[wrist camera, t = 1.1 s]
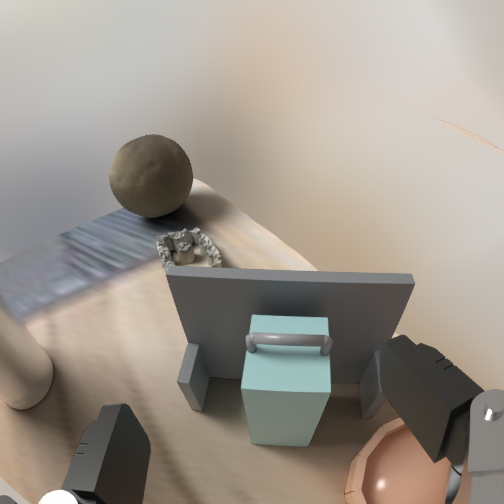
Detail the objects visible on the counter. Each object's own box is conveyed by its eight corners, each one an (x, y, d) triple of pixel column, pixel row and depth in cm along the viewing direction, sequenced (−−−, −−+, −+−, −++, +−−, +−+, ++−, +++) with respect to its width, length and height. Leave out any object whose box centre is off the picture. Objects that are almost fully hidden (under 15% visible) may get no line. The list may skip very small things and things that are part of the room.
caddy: (307, 446, 23) (335, 379, 14) (251, 443, 23) (238, 375, 15) (309, 394, 27) (330, 301, 19) (258, 392, 28) (250, 298, 19)
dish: (316, 498, 19) (320, 495, 17) (398, 399, 25) (407, 388, 24) (419, 560, 11) (432, 561, 10) (486, 454, 18) (500, 446, 16)
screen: (371, 418, 24) (430, 330, 15) (192, 409, 26) (146, 319, 18) (367, 374, 28) (411, 273, 19) (202, 367, 30) (170, 265, 21)
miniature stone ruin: (228, 282, 40) (225, 259, 38) (173, 300, 38) (166, 277, 36) (204, 239, 48) (201, 217, 46) (158, 253, 46) (152, 231, 43)
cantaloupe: (135, 200, 60) (119, 132, 51) (201, 193, 60) (192, 121, 51) (113, 240, 49) (88, 160, 40) (192, 234, 49) (177, 145, 40)
